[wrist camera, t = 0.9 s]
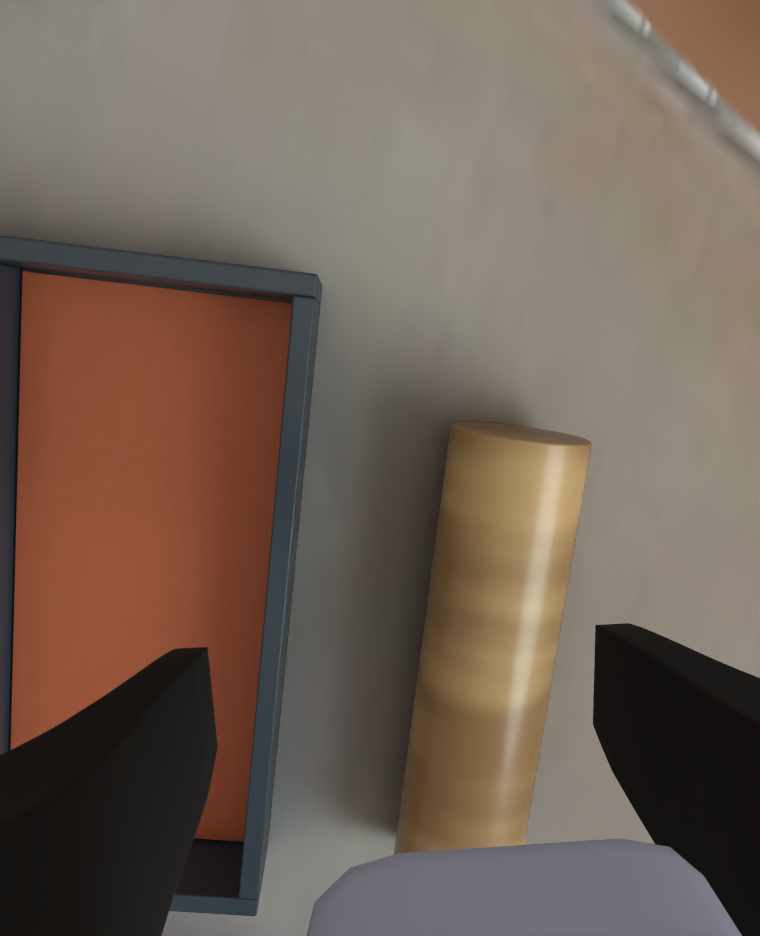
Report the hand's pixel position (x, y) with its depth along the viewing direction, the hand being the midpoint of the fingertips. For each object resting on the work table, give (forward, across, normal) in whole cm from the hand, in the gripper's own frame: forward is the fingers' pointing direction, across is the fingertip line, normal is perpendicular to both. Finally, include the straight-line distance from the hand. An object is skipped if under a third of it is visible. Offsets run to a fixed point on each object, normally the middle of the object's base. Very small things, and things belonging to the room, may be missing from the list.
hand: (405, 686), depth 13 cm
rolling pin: (+10, -3, +4) cm, 11 cm away
